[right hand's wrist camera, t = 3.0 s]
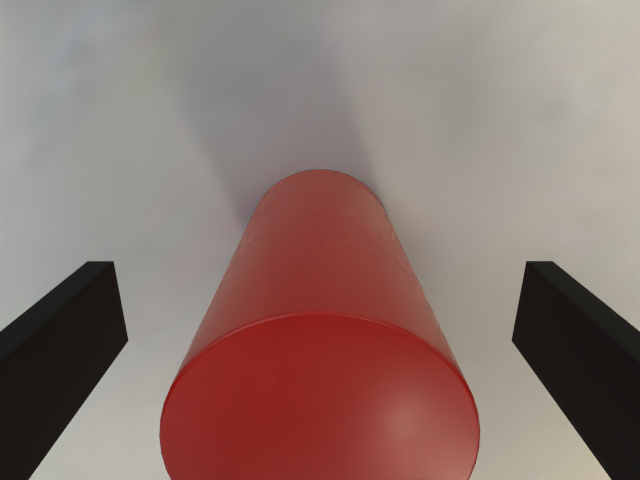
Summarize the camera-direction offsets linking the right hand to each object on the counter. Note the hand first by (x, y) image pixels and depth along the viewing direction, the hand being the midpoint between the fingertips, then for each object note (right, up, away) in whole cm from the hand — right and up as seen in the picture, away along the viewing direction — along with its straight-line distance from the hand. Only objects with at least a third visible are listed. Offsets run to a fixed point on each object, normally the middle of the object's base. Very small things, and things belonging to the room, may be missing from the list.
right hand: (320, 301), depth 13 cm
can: (0, +2, +5) cm, 5 cm away
